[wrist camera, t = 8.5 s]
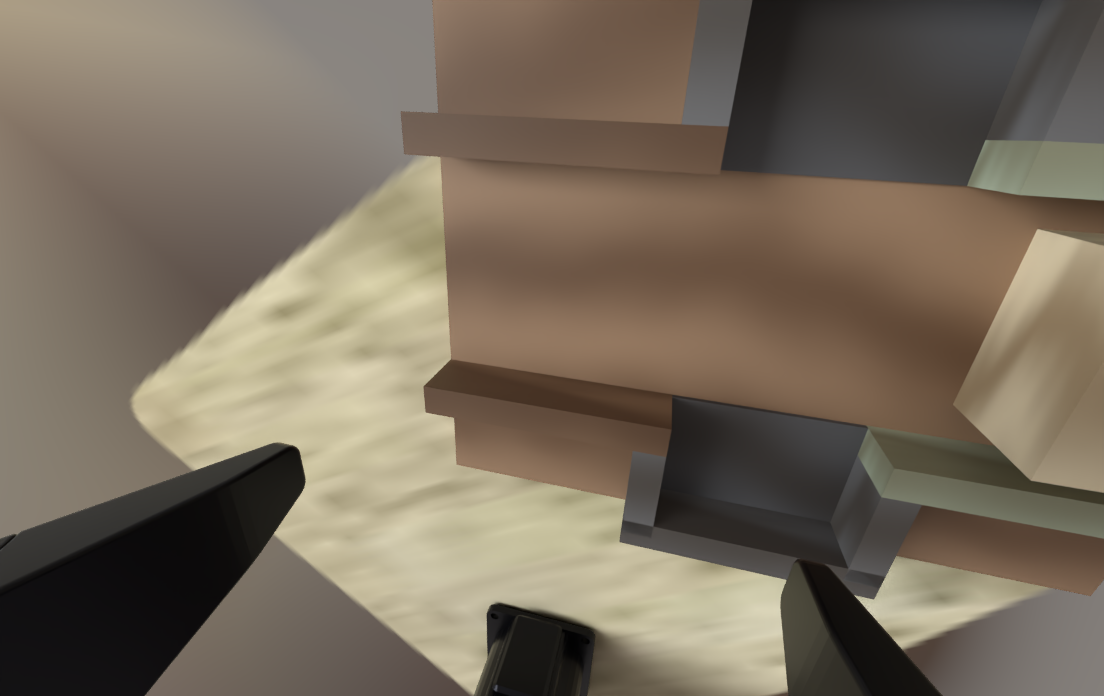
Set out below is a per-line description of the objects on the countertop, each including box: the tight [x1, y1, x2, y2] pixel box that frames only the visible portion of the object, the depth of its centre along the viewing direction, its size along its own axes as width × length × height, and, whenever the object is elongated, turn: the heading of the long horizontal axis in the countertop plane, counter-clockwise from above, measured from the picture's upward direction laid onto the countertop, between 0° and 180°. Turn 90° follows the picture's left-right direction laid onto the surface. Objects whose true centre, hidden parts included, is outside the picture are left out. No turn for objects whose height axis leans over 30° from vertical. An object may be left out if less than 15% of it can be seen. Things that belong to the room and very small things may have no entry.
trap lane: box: [401, 0, 1104, 599], centre depth 15 cm, size 20×26×4 cm
